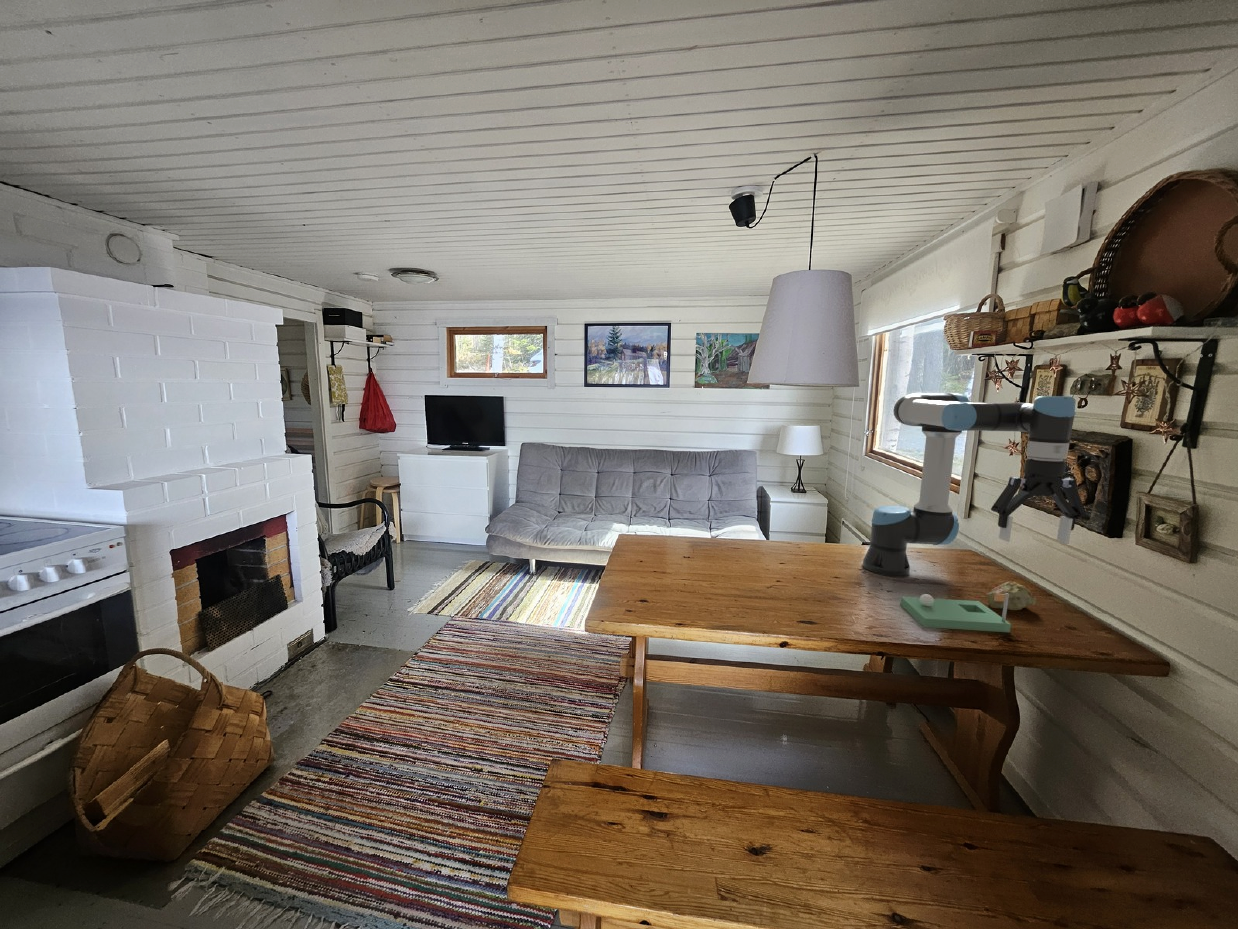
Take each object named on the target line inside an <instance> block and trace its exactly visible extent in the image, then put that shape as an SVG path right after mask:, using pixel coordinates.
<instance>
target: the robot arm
mask: <svg viewBox="0 0 1238 929" xmlns="http://www.w3.org/2000/svg"><path fill="white" fill-rule="evenodd" d="M892 410H893V416H894V418H895V420H896V421H898V422H899V423H900V424H902V425H906V426H910V427H921V432H922V433H923V434H924V436H925V442H924V443H925V444H924V454H923V464H922V471H921V474H922V475H921V481H920V482H921V483H920V491H919V493H920V494H919V501H918V502H917V503H915V504H914V505H913V510H912V511H911V509H910V508H909V507H906V506H902V505H901V506H900V505H899V506H897V505H885V506H879V507H877V508H876V509H874V510H873V514H872V518H871V527H870V528H871V529H870V530H871V531H870V540H869V547H868V549H867V551H866V553H865V555H864V556H863V560H862V566H863V568H864V569H866V570H867V571H868V572H871V573H874V574H877V575H881V576H886V577H899V578H901V577H906V576H908V575H909V574H910V571H911V566H910V563H909V559H908V554H907V546H908V544H916V545H931V546H939V545H941V546H942V545H943V546H945V545H949V544H951V543H952V542H954V541H955V539H956V538H957V537H958V534H959V530H960V529H959V528H960V523H959V518H958V516H957V515H956V514H955V513H953V511H954V510H953V509H952V507H951V506H950V505H949V499H950V491H951V490H950V489H951V482H952V480H951V479H952V474H953V473H952V472H953V465H954V455H955V448H956V446H955V445H956V438H957V437H958V436H960V435H961V434H962V432H964V431H967V432H968V431H969V432H970V431H975V432H978V431H979V432H980V431H981V432H983V431H984V432H1021V433H1028V434H1029V435H1028V441H1027V446H1026V447H1027V448H1026V452H1025V455H1026V458H1025V461H1024V468H1023V473H1024V476H1023V477H1022V478H1021V477H1017V476H1010V477H1009V478H1008V483H1007V485H1006V487H1005V488H1004V489H1003V491H1002V492H1001V493H1000V495H999V496H998V498H997V499H996V501H995V502H994V503H993V505H992V506H991V508H990V510H991V511H992V512H995V513H997V514H998V519H997V520H998V521H997V525H998V527H999V529H1000V530H999V535H998V539H1000V540H1002V541H1004V542H1008V543H1009V542H1010V541H1011V533H1012V525H1013V521H1014V516H1012V513H1013V512H1015V511H1016V510H1017V509H1018V508H1020V507H1021V506H1022V505H1023V504H1024V503H1025V502H1026V501H1027V500H1028V499H1030V498H1033V497H1034V496H1035V497H1043V496H1044V497H1050V498H1051V500H1053V501H1054V503H1055V505H1057V508H1059V509H1060V511H1061V512H1062V513H1063V514H1064V515H1060V518H1059V522H1058V524H1059V525H1058V530H1057V536H1056V541H1057V542H1060V543H1061V544H1064V545H1069V544H1070V537H1071V533H1072V531H1074V529H1075V525H1076V520H1080V519H1081V517H1085V516H1087V511H1086V509H1085V507H1084V504H1083V501H1082V499H1081V496H1080V494H1079V491H1078V481H1077V479H1074V478H1070V477H1064V476H1065V475H1066V474H1065V472H1066V468H1067V462H1066V461H1065V460H1066V459H1067V458H1068V455H1069V448H1070V441H1071V436H1072V430H1073V425H1074V420H1075V416H1076V411H1075V410H1076V398H1074V397H1073V396H1071V395H1070V396H1068V395H1067V396H1064V395H1063V396H1062V395H1061V396H1059V395H1057V396H1055V395H1052V396H1051V395H1050V396H1049V395H1048V396H1047V395H1046V396H1045V395H1039V396H1036V397H1035V398H1034V401H1033V403H1028V402H1021V401H1020V402H1015V401H1014V402H971V401H970V400H969V398H968V397H967V395H964V394H961V393H953V392H943V393H941V392H935V393H933V392H931V393H930V392H927V393H925V392H924V393H923V392H915V393H910V394H906V395H904V396H902V397H901V398H899V399H897V401H896V402H895V404H894V406H893V409H892ZM1063 477H1064V478H1063ZM1061 487H1063V488H1062V489H1063V491H1064V494H1065V496H1066V498H1067V499H1066V498H1065V497H1064V494H1063V492H1062V491H1061V489H1060V488H1061Z"/></svg>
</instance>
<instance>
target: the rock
mask: <svg viewBox="0 0 1238 929" xmlns="http://www.w3.org/2000/svg"><path fill="white" fill-rule="evenodd" d="M1005 593H1008V594H1009V599H1008V605H1007V610H1010V611H1021V610H1022V609H1023V608H1027V606H1029V605H1031V606H1033V607H1035V606H1036V605H1037V604H1038V603H1037V598H1036V597H1034V596H1033V594H1032V592H1031V590H1030V589H1028V588H1027V587H1026V586H1025V585H1024V584H1020V583H1018V582H1016V581H1014V580H1013V581H1011V580H1010V581H1006V582H1003V583H1001V585H998V586H995V587H993V588H992V589H991V590H990V592H987V593H986V594H985V596H986V599H987V602H988V605H989V607H990V609H1003V606H1004V601H994V596H995V594H1005Z"/></svg>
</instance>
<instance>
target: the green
mask: <svg viewBox="0 0 1238 929" xmlns="http://www.w3.org/2000/svg"><path fill="white" fill-rule="evenodd" d="M933 599H934V603H933V605H931V606H924V605H923V604H922V603H921V602H920V597H915V596H914V597H912V596H901V597H900V605H901V606H902V607H903V608H904V609H905V610H906V612H908V613H909V615H911V616H912V617H913V618H914V619H915V620H916V621H917V622H918V623H919V624H920V625H921V626H922V627H924V628H935V629H937V628H938V629H948V630H949V629H952V630H953V629H954V630H966V631H967V630H968V631H982V632H997V633H1000V632H1001V633H1010V632H1011V626H1012V623H1010V622H1009V621H1008V620H1006V618H1007V612H1008V609H1007V605H1008V599H1009V594H1008V593H1005V594H995V596H994V601H1004V606H1003V608H1002V613H1001V614H1002V615H1001V616H1000V615H999V614H998V613H996V612H995V611H994V610H992V609H991V608H989V607H988V606H986V605H985V604H983V603H982V602H981V601H979V600H966V599H965V600H964V599H947V598H946V599H945V598H933Z"/></svg>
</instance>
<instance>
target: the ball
mask: <svg viewBox="0 0 1238 929" xmlns="http://www.w3.org/2000/svg"><path fill="white" fill-rule="evenodd" d="M919 598H920V602H921V603H922V604H923V605H924V606H931V605H933V603H934V599H935V598H933V596H931V595H930V594H927V593H923V594H921V595H920V597H919Z"/></svg>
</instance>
